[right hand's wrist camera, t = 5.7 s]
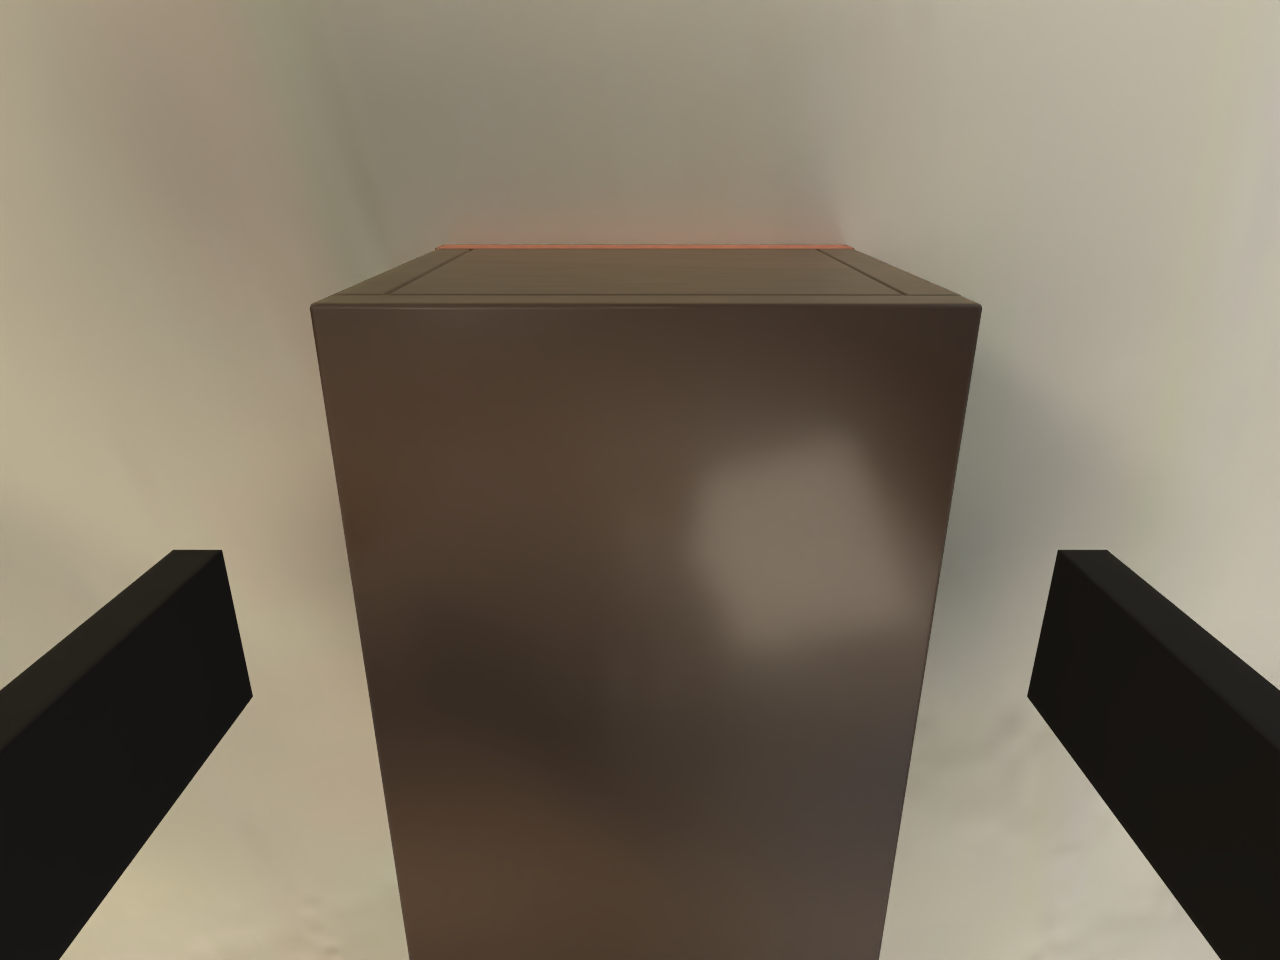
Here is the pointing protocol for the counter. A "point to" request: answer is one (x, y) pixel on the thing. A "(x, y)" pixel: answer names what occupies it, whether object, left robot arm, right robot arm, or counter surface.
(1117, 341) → the counter surface
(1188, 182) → the counter surface
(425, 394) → the cabinet
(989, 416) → the counter surface
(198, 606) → the right robot arm
